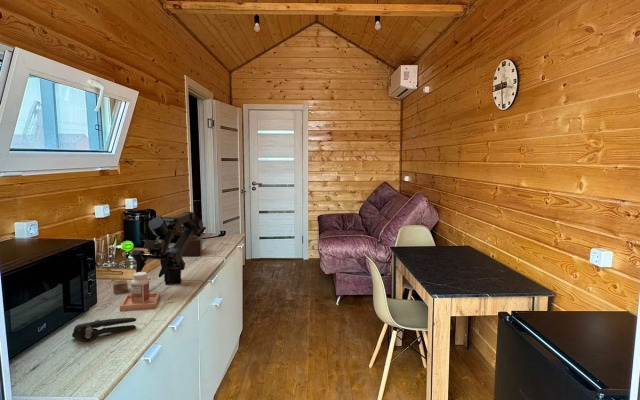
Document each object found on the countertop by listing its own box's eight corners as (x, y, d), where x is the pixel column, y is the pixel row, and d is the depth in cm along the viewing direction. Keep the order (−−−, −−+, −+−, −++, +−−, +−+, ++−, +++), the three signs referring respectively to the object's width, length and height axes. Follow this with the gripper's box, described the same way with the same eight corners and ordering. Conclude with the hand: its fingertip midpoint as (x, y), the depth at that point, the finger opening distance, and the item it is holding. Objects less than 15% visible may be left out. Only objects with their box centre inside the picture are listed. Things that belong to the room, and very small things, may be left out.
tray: (159, 296, 152) (159, 292, 152) (155, 308, 141) (155, 303, 141) (126, 299, 149) (126, 294, 149) (119, 310, 137) (119, 306, 137)
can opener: (73, 347, 111) (73, 328, 111) (71, 337, 117) (71, 320, 116) (139, 332, 122) (139, 315, 121) (134, 324, 127) (134, 308, 127)
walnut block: (126, 288, 161) (126, 279, 160) (127, 292, 156) (127, 283, 156) (113, 290, 158) (113, 281, 158) (113, 294, 154) (113, 284, 153)
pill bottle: (145, 297, 149) (145, 270, 148) (151, 302, 145) (151, 274, 144) (129, 301, 145) (128, 273, 144) (134, 306, 141) (134, 276, 140)
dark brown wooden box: (202, 252, 227) (203, 222, 225) (200, 256, 216) (200, 225, 214) (175, 252, 225) (175, 222, 223) (171, 256, 214) (171, 225, 212)
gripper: (132, 230, 154) (116, 264, 144) (176, 233, 152) (162, 267, 142) (144, 245, 162) (129, 278, 153) (186, 247, 160) (173, 281, 151)
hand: (148, 276), depth 149 cm, fingers open, 9 cm apart
